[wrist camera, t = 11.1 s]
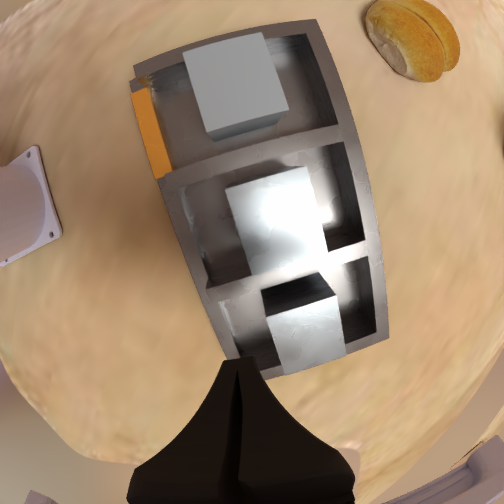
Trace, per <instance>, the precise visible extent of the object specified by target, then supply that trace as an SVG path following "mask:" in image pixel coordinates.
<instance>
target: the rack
mask: <svg viewBox="0 0 504 504" xmlns="http://www.w3.org/2000/svg"><path fill="white" fill-rule="evenodd" d="M259 32H262V34H263V37H264V40H265V42H266V45H267V47H268V50H269V53H270V55H271V58H272V61H273V63H274V66H275V69H276V72H277V75H278V77H279V80H280V83H281V86H282V89H283V92H284V95H285V98H286V101H287V104H288V107H289V111H288V112H287V113H286V114H285V115H284V116H283V117H282V118H281V119H280V120H279V121H278V122H277V123H276V124H275V125H273V126H269V127H265V128H261V129H257V130H253V131H250V132H246V133H243V134H239V135H236V136H232V137H229V138H226V139H222V140H219V141H216V142H214V141H213V140H212V139H211V137H210V136H209V135H208V134H207V132H206V129H205V126H204V123H203V119H202V116H201V113H200V110H199V106H198V103H197V100H196V97H195V93H194V90H193V87H192V83H191V80H190V77H189V74H188V70H187V67H186V64H185V60H184V57H183V54H182V53H183V52H186V51H189V50H192V49H195V48H199V47H202V46H205V45H209V44H212V43H216V42H220V41H223V40H227V39H231V38H236V37H240V36H245V35H249V34H254V33H259ZM133 67H134V71H135V75H136V78H135V79H133V80H131V81H129V83H130V87H131V91H132V94H130V95H131V98H132V102H133V106H134V110H135V113H136V117H137V121H138V124H139V128H140V131H141V135H142V138H143V142H144V145H145V148H146V152H147V155H148V158H149V161H150V165H151V168H152V171H153V174H154V177H155V180H156V179H157V180H158V183H159V186H160V189H161V192H162V195H163V198H164V201H165V204H166V207H167V210H168V213H169V216H170V219H171V221H172V224H173V227H174V230H175V233H176V235H177V238H178V241H179V244H180V246H181V249H182V252H183V254H184V257H185V260H186V262H187V265H188V267H189V270H190V273H191V275H192V278H193V280H194V283H195V285H196V288H197V290H198V293H199V295H200V298H201V300H202V302H203V305H204V307H205V310H206V312H207V314H208V317H209V319H210V322H211V324H212V326H213V329H214V331H215V333H216V335H217V338H218V340H219V342H220V345H221V347H222V349H223V351H224V353H225V356H226V358H227V360H231V359H237V358H244V357H250V356H253V357H255V358H256V362H257V366H258V369H259V371H260V373H261V375H262V377H263V379H264V380H268V379H272V378H275V377H279V376H282V375H285V376H286V375H289V374H293V373H296V372H299V371H303V370H306V369H309V368H312V367H315V366H318V365H321V364H324V363H327V362H330V361H333V360H336V359H339V358H342V357H344V356H346V355H347V354H350V353H353V352H355V351H358V350H361V349H363V348H366V347H368V346H371V345H373V344H376V343H378V342H381V341H383V340H385V339H388V338H389V321H388V306H387V293H386V282H385V273H384V264H383V256H382V249H381V242H380V235H379V229H378V223H377V217H376V211H375V206H374V201H373V196H372V191H371V186H370V181H369V177H368V173H367V168H366V164H365V160H364V156H363V152H362V148H361V144H360V140H359V137H358V133H357V130H356V126H355V123H354V119H353V116H352V113H351V110H350V106H349V103H348V100H347V97H346V94H345V91H344V88H343V85H342V82H341V80H340V77H339V74H338V71H337V69H336V66H335V63H334V61H333V58H332V56H331V53H330V51H329V48H328V46H327V43H326V41H325V39H324V36H323V34H322V32H321V29H320V27H319V25H318V23H317V21H316V19H310V20H300V21H291V22H284V23H277V24H271V25H265V26H259V27H254V28H249V29H244V30H240V31H235V32H231V33H227V34H223V35H219V36H215V37H212V38H208V39H205V40H201V41H198V42H195V43H191V44H188V45H185V46H182V47H179V48H176V49H174V50H171V51H168V52H165V53H163V54H160V55H158V56H155V57H153V58H150V59H148V60H145V61H143V62H140V63H138V64H136V65H134V66H133Z"/></svg>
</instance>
